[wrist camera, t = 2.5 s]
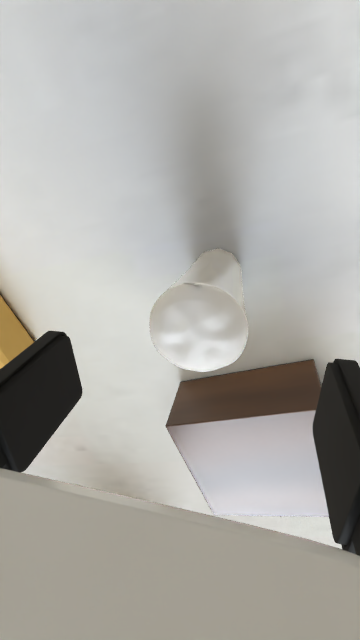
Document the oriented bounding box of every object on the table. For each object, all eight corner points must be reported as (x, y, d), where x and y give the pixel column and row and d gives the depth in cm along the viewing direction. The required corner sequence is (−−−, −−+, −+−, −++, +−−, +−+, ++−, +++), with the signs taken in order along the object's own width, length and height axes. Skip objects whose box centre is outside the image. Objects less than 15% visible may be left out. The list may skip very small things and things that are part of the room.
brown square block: (180, 381, 26) (165, 426, 22) (313, 358, 22) (327, 408, 18) (220, 464, 30) (213, 515, 26) (338, 458, 26) (354, 517, 22)
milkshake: (256, 226, 18) (256, 288, 10) (247, 303, 21) (240, 405, 12) (185, 223, 19) (128, 278, 11) (184, 298, 22) (138, 389, 13)
